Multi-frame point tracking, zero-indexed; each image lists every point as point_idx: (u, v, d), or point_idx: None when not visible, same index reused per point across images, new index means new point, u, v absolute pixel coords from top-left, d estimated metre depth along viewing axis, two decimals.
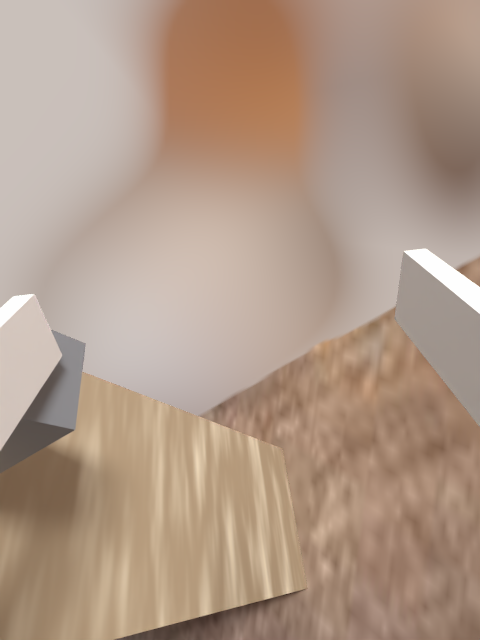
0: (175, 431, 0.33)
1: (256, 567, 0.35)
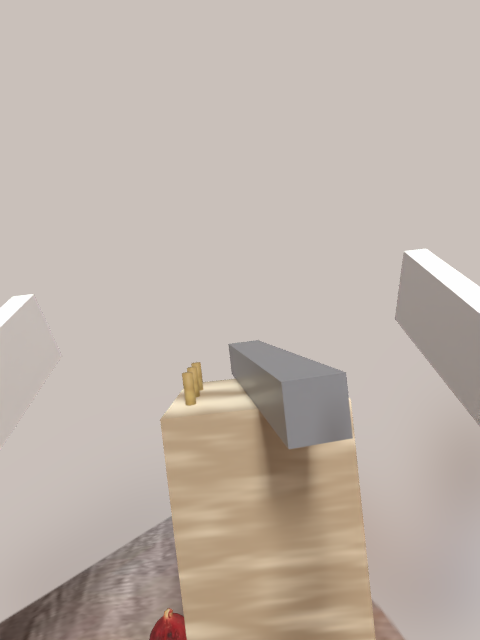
0: (341, 577, 0.30)
1: None
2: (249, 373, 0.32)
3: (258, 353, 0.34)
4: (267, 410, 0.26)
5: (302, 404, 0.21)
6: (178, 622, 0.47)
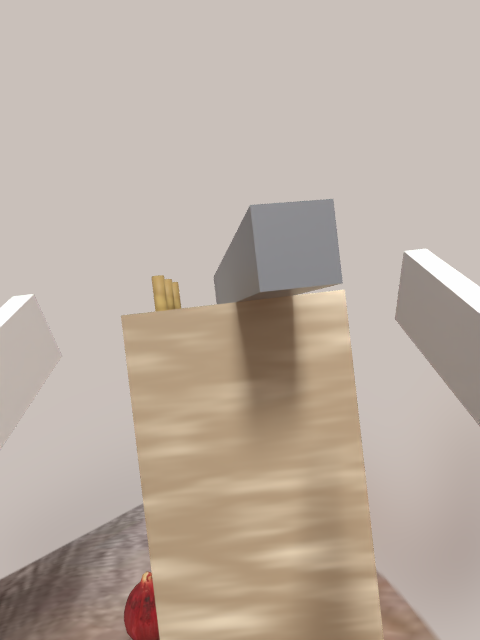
0: (335, 504, 0.25)
1: None
2: (227, 271, 0.28)
3: None
4: (242, 283, 0.21)
5: (277, 236, 0.17)
6: None
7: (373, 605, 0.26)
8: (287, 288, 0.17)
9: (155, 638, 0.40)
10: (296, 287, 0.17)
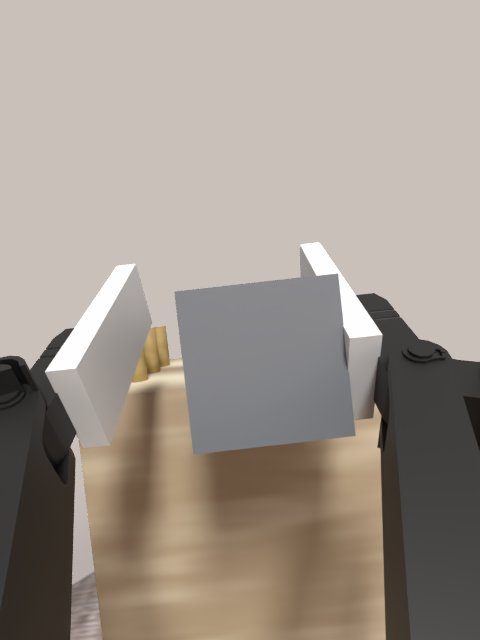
0: None
1: None
2: None
3: None
4: None
5: (227, 349, 0.09)
6: None
7: None
8: (247, 445, 0.09)
9: None
10: (264, 443, 0.09)
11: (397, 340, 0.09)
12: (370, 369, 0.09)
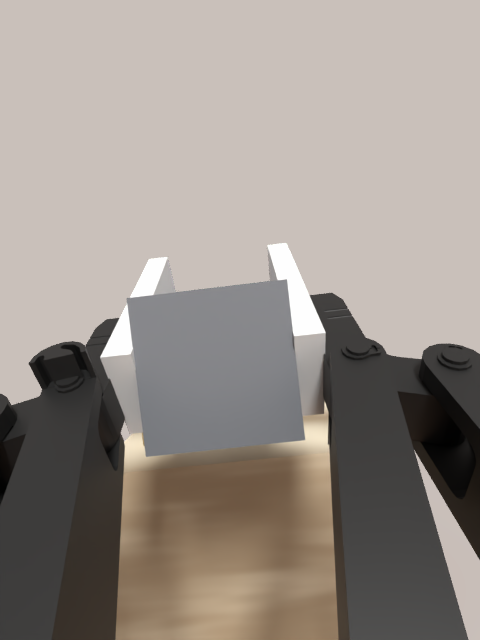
0: None
1: None
2: None
3: None
4: None
5: (178, 354, 0.09)
6: None
7: None
8: (198, 448, 0.09)
9: None
10: (216, 446, 0.09)
11: (344, 338, 0.09)
12: (317, 366, 0.09)
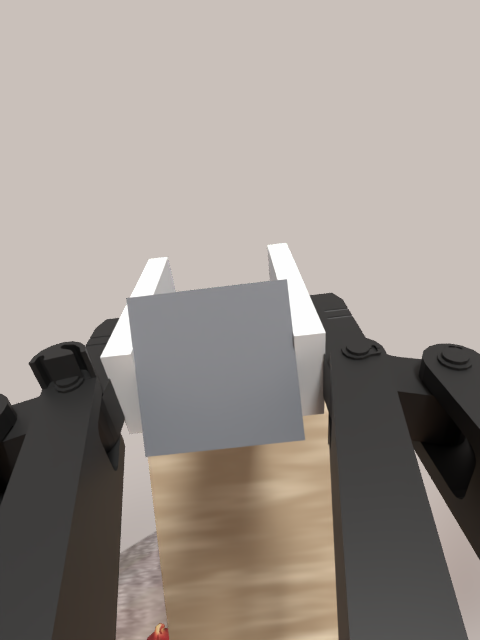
0: None
1: None
2: None
3: None
4: None
5: (178, 353, 0.09)
6: None
7: None
8: (198, 448, 0.09)
9: None
10: (215, 446, 0.09)
11: None
12: (317, 366, 0.09)
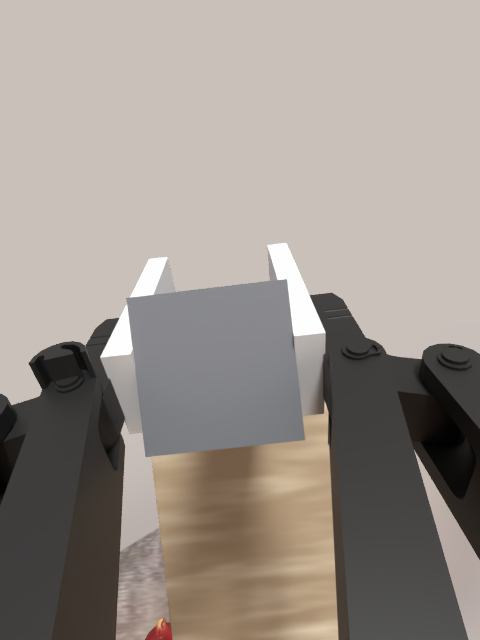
0: None
1: None
2: None
3: None
4: None
5: (178, 354, 0.09)
6: (171, 632, 0.45)
7: None
8: (198, 448, 0.09)
9: None
10: (215, 446, 0.09)
11: (344, 338, 0.09)
12: (316, 366, 0.09)
